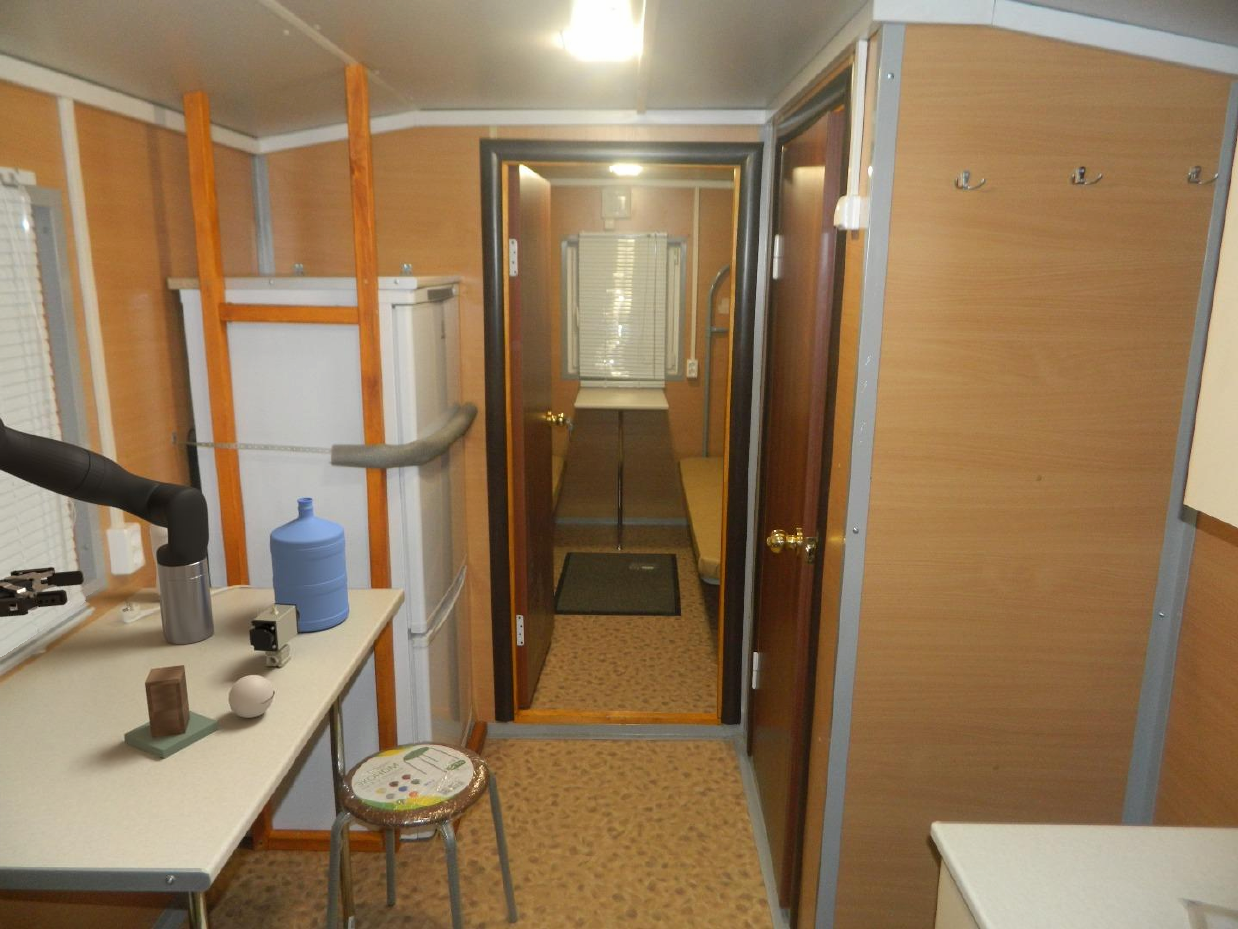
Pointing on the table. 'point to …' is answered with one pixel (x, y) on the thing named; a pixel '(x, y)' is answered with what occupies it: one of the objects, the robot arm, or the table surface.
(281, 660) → the pneumatic valve
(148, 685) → the brown wooden block
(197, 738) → the stub base
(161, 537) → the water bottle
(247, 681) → the seamed sphere
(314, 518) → the water jug
